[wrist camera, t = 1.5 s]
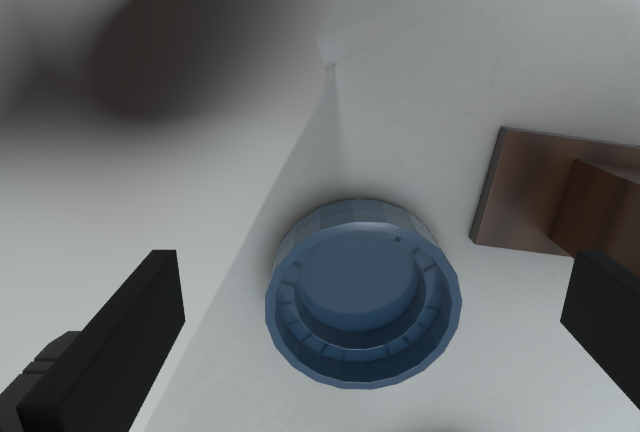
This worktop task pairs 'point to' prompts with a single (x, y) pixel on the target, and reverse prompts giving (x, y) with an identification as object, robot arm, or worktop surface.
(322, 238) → the bowl
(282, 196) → the worktop surface
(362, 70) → the worktop surface
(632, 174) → the stand
